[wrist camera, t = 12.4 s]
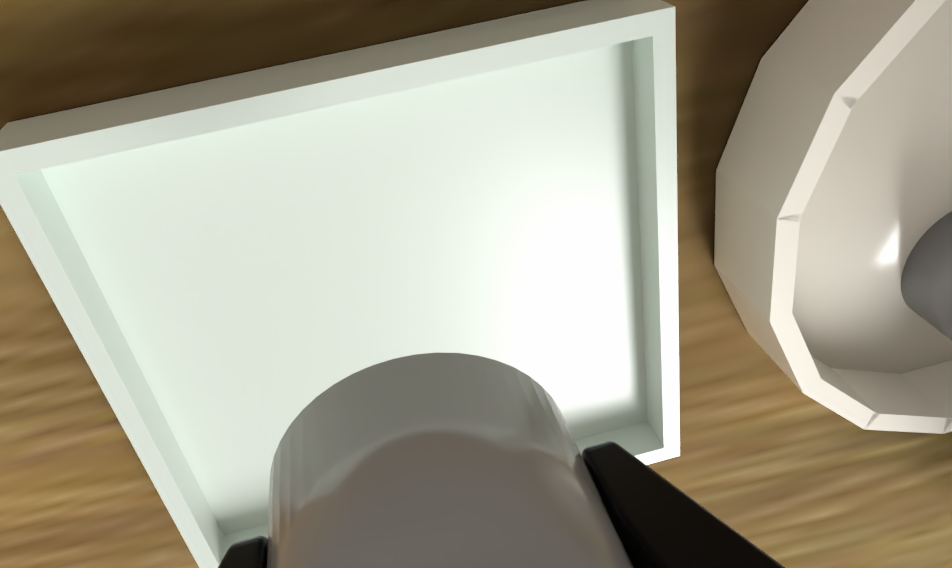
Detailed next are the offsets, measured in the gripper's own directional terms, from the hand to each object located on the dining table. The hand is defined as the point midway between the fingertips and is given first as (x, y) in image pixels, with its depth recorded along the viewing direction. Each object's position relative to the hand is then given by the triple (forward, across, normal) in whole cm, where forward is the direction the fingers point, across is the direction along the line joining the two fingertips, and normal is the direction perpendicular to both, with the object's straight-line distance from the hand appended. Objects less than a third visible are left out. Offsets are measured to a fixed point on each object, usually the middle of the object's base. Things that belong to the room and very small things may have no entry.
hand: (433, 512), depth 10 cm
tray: (+10, 0, +3) cm, 11 cm away
